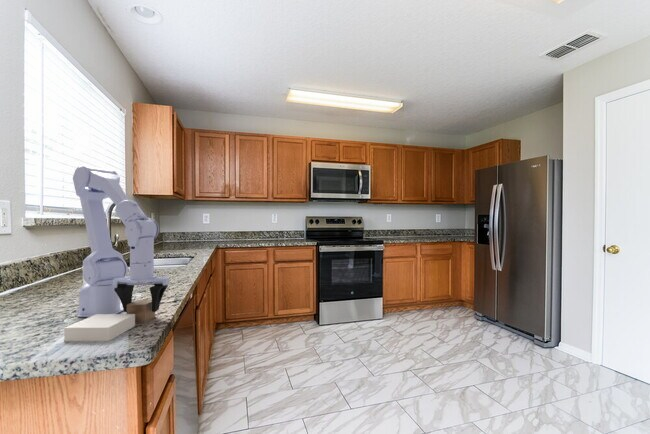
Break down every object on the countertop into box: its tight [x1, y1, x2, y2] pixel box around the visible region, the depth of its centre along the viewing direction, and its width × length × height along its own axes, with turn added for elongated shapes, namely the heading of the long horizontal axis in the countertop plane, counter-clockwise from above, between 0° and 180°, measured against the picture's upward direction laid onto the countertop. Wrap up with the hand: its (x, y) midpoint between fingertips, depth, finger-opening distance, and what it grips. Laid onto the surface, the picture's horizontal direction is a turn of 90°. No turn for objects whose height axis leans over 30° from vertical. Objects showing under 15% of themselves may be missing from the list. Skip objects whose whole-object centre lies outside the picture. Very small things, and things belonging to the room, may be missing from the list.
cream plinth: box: [63, 313, 136, 342], centre depth 74 cm, size 10×10×4 cm
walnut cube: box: [126, 299, 156, 324], centre depth 84 cm, size 5×5×5 cm
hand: (141, 311), depth 84 cm, fingers open, 7 cm apart
